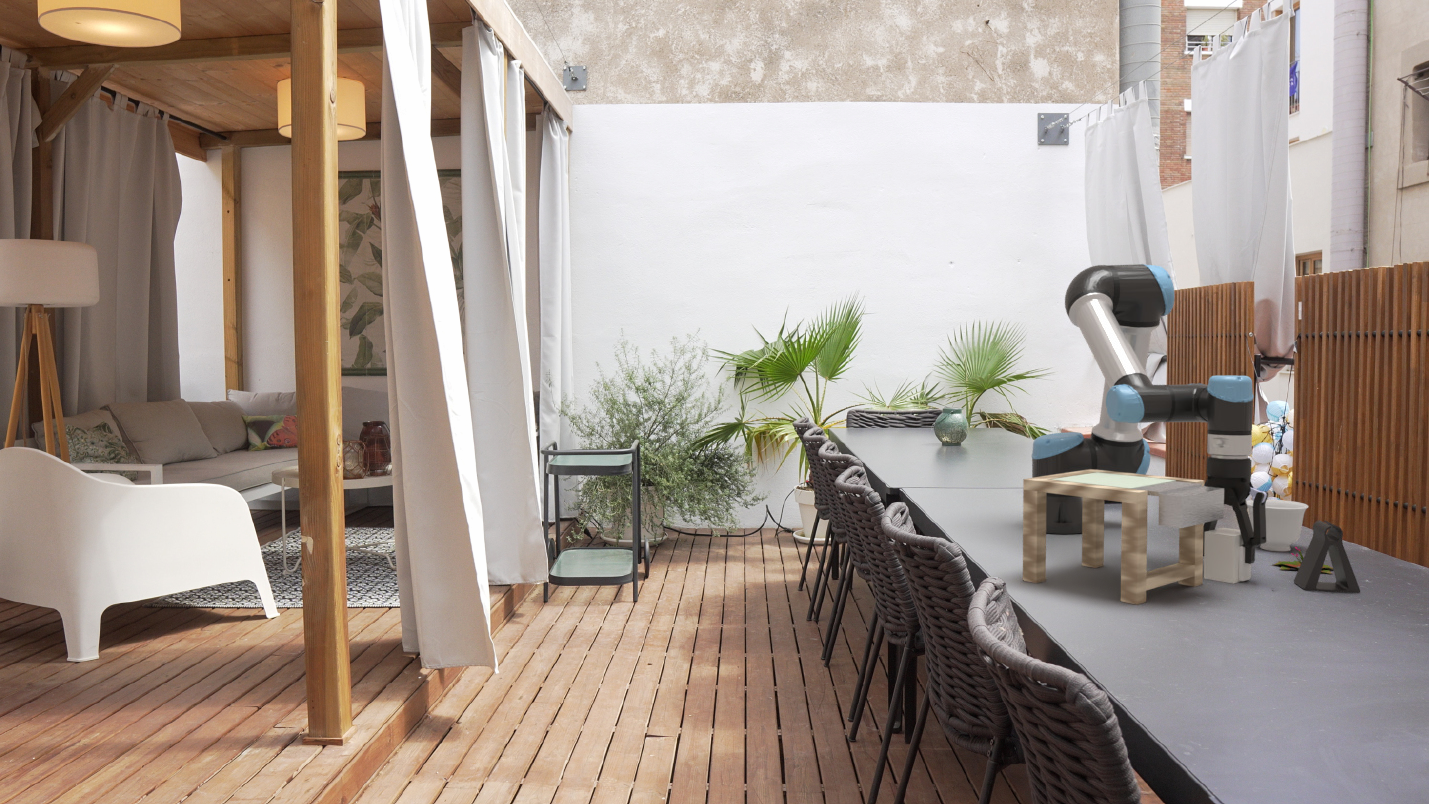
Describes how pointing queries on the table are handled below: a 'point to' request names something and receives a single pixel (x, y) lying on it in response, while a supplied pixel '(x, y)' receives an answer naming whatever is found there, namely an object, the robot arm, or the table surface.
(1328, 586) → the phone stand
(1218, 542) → the white rectangular block
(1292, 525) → the teacup
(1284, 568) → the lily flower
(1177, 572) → the trapdoor frame
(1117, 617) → the table surface
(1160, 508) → the trapdoor
